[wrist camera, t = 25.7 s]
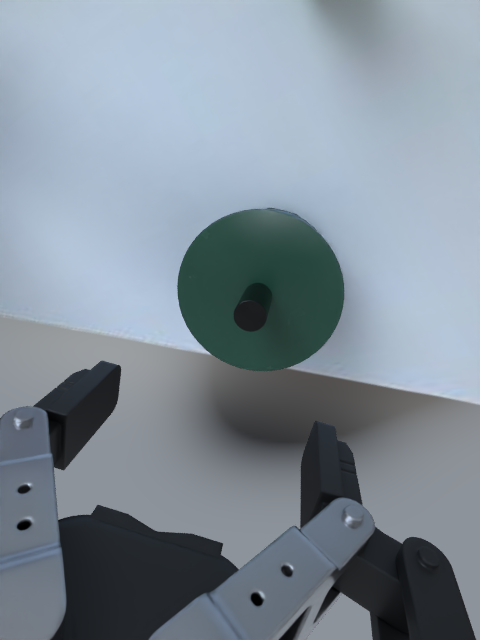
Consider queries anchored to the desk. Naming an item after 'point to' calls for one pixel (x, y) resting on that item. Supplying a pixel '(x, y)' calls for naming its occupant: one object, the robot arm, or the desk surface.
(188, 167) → the desk surface
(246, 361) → the lid
